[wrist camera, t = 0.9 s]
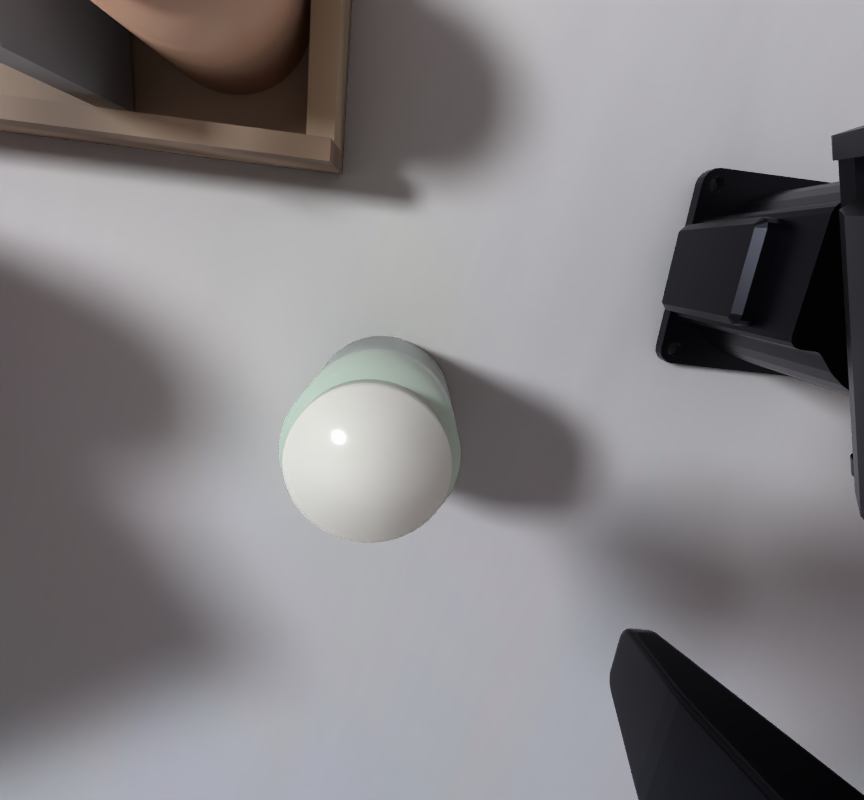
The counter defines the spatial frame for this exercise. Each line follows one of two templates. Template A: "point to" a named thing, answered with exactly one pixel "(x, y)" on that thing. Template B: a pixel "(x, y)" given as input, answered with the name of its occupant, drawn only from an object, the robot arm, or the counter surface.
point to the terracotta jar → (221, 38)
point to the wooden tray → (207, 106)
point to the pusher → (69, 49)
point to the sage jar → (372, 442)
